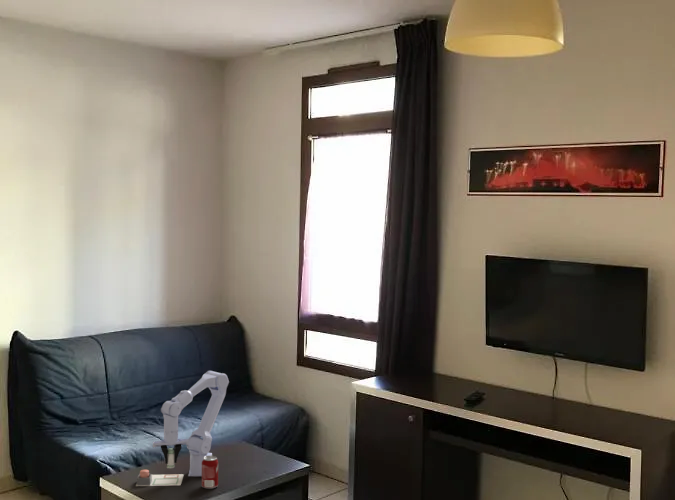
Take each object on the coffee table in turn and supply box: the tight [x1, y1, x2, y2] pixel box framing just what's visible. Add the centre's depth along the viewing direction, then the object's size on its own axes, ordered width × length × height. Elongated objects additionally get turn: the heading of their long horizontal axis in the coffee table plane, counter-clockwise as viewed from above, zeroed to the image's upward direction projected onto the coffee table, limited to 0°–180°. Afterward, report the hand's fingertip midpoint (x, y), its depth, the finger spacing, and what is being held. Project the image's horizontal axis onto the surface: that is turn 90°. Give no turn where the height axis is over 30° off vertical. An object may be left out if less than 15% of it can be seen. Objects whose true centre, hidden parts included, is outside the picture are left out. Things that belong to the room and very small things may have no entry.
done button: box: [139, 469, 150, 478], centre depth 314 cm, size 4×4×4 cm
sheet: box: [135, 473, 185, 487], centre depth 318 cm, size 18×13×1 cm
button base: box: [136, 473, 153, 485], centre depth 314 cm, size 5×5×3 cm
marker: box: [166, 447, 176, 469], centre depth 316 cm, size 3×3×8 cm
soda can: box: [201, 455, 219, 490], centre depth 312 cm, size 7×7×12 cm
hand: (170, 462), depth 316 cm, fingers closed on marker, 3 cm apart
